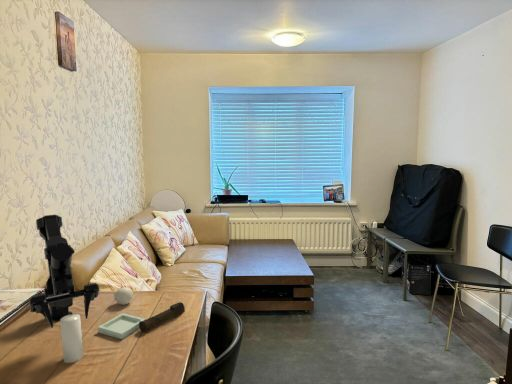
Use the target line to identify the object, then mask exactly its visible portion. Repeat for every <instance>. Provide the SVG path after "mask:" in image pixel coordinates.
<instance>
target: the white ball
mask: <svg viewBox="0 0 512 384" xmlns="http://www.w3.org/2000/svg"><path fill="white" fill-rule="evenodd" d="M113 294H114V296H113V299H114V300H115V302H116V303H117V305H123V306H124V305H127V304H129V303H131V302H132V301H133V297H134V293H133V290H132V289H131V288H130V287H127V286H123V287H120V288H118V289H117V290H116V292H115V293H113Z"/></svg>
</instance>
